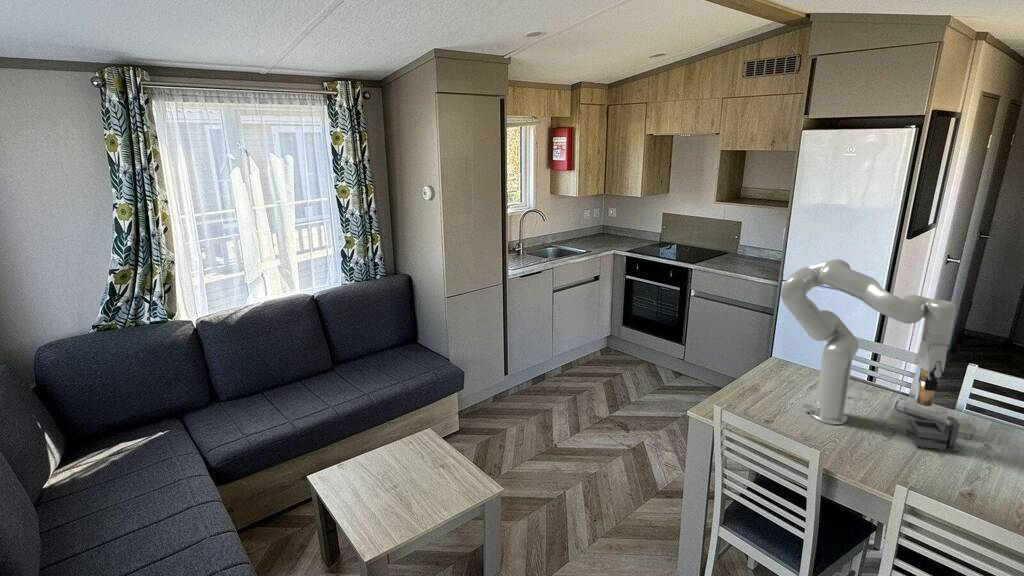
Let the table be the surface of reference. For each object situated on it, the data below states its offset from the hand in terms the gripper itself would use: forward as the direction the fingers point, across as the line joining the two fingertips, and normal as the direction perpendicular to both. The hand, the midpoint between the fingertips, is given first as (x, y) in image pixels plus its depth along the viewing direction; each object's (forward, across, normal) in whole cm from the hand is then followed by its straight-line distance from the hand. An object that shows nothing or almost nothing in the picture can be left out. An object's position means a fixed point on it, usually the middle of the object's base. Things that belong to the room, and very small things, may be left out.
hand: (927, 386), depth 184 cm
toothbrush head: (+23, -16, +10) cm, 29 cm away
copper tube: (+6, 0, 0) cm, 6 cm away
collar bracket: (+22, -1, +4) cm, 23 cm away
